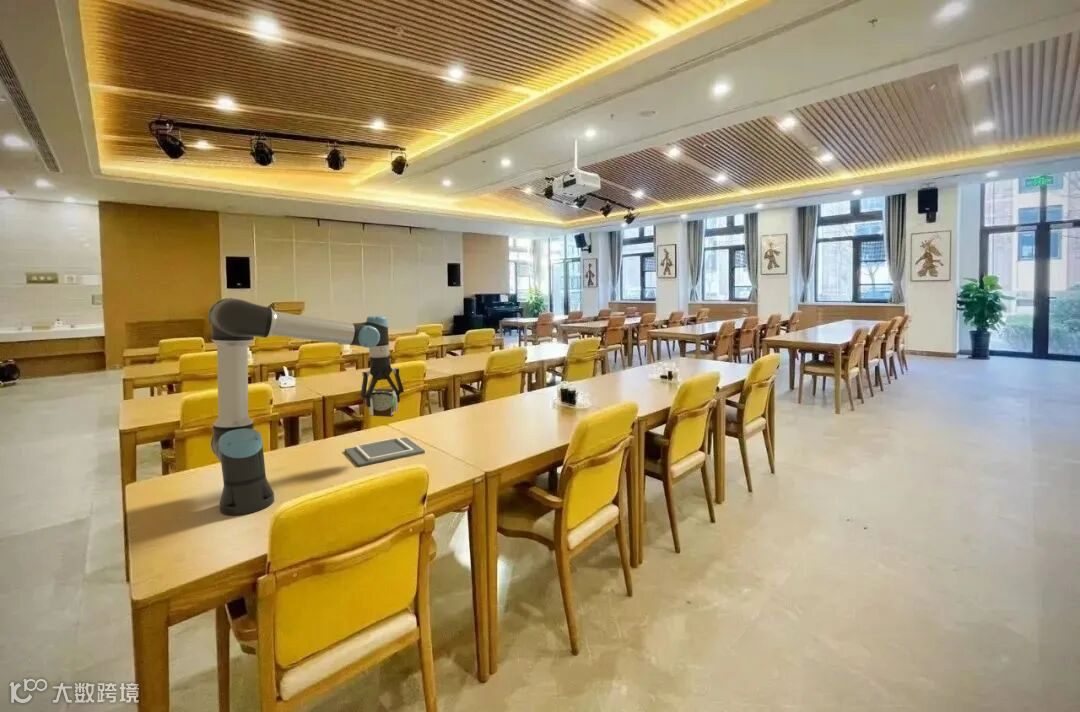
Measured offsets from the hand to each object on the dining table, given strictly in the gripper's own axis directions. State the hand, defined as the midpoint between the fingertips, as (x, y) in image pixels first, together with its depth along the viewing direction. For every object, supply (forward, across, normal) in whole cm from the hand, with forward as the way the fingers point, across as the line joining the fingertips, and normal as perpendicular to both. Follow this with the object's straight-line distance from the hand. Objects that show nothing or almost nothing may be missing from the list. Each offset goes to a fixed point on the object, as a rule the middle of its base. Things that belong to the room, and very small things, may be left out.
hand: (384, 412), depth 206 cm
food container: (+1, 0, 0) cm, 1 cm away
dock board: (+18, 0, +5) cm, 19 cm away
